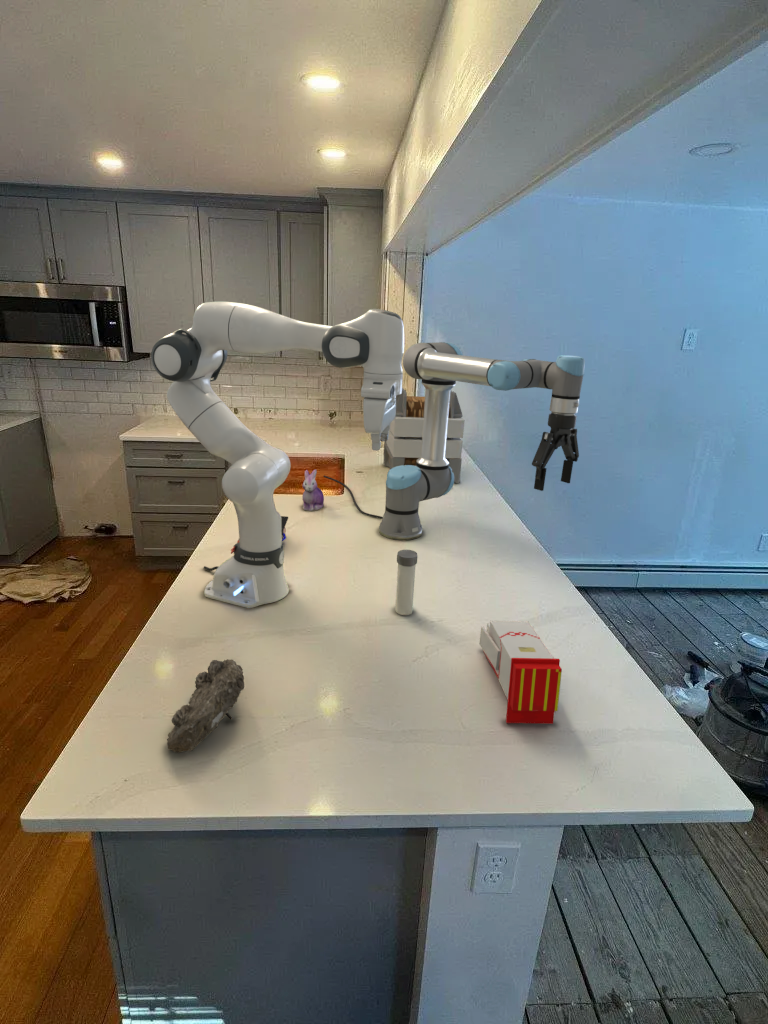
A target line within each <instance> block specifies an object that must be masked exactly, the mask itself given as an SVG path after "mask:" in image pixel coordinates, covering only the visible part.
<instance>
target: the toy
mask: <svg viewBox="0 0 768 1024" xmlns="http://www.w3.org/2000/svg"><path fill="white" fill-rule="evenodd" d="M478 642H479V643H478V644H479V646H480V647H481V650H482V651H483V654H484V655H485V657H486V659H487V661H488V663H489V664H490V666H491V669H492V670H493V672H494V674H495V676H496V678H497V679H498V682H499V684H500V687H501V688H502V691H503V693H504V695H505V697H506V699H507V706H506V717H505V722H506V724H547V725H549V724H551V725H553V724H554V718H555V712H558V711H559V710H558V709H559V698H560V689H561V682H562V681H561V680H562V672H563V671H562V667H561V666H560V663H561V659H560V658H554V656H553V654H552V653H551V651H550V650H549V649H548V647H547V646H546V644H545V643H544V642H543V640H542V638H540V636H539V635H538V633H537V631H536V630H535V627H534V626H532V625H531V623H530V622H529V620H528V621H527V620H526V621H525V620H524V621H523V620H490V621H489V622H487V623H486V628H485V626H480V634H479V641H478Z"/></svg>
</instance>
